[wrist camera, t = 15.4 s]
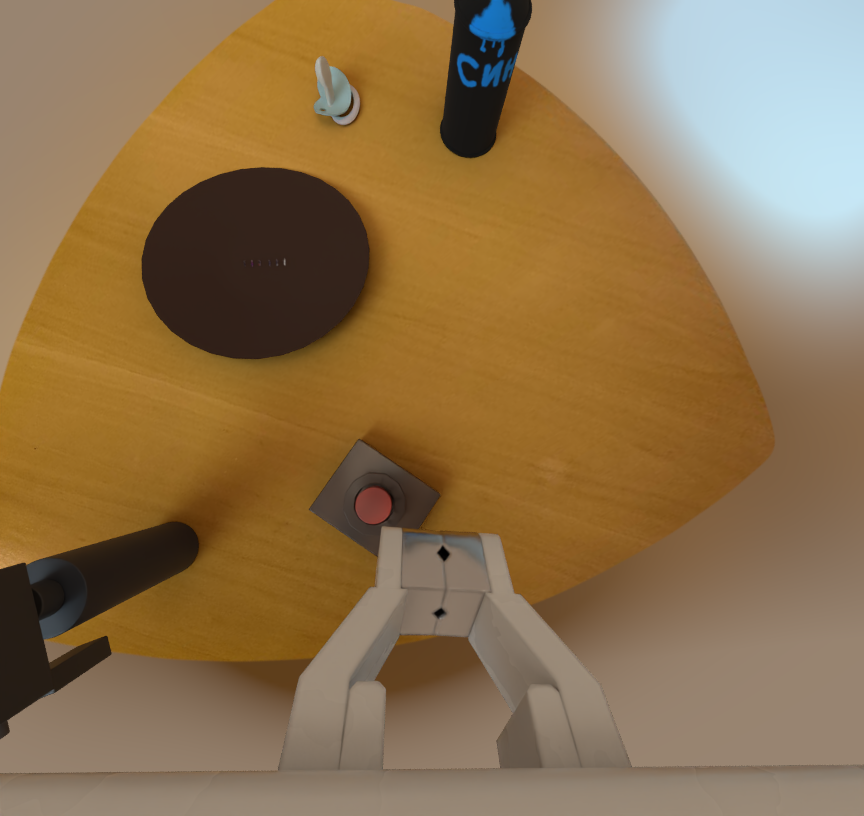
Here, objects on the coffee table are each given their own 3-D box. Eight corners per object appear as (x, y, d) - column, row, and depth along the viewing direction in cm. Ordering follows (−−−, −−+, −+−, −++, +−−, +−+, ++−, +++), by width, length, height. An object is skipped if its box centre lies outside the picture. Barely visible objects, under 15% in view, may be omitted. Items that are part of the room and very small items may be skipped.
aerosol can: (437, 108, 55) (455, -89, 35) (492, 106, 55) (541, -87, 36) (443, 159, 54) (465, -14, 34) (499, 157, 54) (553, -13, 35)
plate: (364, 165, 53) (361, 143, 49) (378, 359, 49) (375, 351, 46) (154, 169, 50) (134, 147, 47) (154, 373, 47) (133, 366, 43)
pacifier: (363, 88, 54) (321, 80, 54) (359, 41, 48) (311, 32, 48) (357, 133, 53) (314, 126, 53) (352, 91, 47) (303, 82, 47)
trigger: (112, 654, 31) (54, 693, 26) (82, 665, 31) (18, 706, 26) (107, 635, 32) (49, 670, 26) (77, 646, 31) (13, 683, 26)
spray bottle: (214, 596, 44) (22, 737, 22) (162, 615, 44) (-89, 781, 21) (191, 514, 45) (-15, 571, 23) (140, 532, 45) (-122, 608, 22)
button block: (438, 492, 48) (442, 496, 43) (393, 561, 46) (392, 572, 42) (361, 439, 48) (356, 438, 43) (314, 506, 46) (304, 511, 42)
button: (398, 498, 43) (398, 500, 42) (379, 528, 43) (377, 531, 41) (370, 479, 43) (369, 480, 42) (350, 508, 43) (347, 510, 41)
